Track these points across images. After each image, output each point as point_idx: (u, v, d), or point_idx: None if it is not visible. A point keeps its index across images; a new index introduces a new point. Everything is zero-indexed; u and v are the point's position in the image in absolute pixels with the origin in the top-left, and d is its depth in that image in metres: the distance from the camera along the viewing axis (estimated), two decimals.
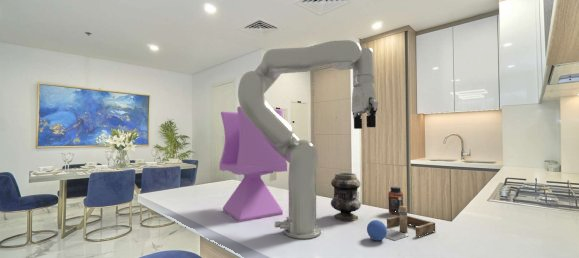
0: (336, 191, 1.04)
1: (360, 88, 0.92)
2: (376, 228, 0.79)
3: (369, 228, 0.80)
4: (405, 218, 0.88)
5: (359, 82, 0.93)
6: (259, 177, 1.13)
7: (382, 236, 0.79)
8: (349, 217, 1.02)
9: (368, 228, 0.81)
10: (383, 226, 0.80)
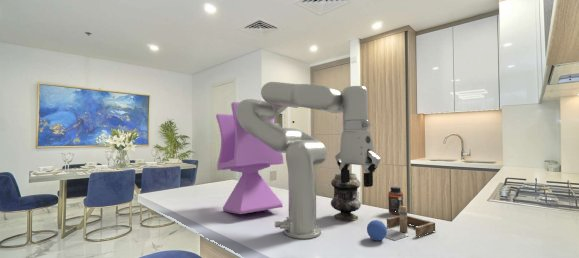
0: (336, 191, 1.04)
1: None
2: (376, 228, 0.79)
3: (369, 228, 0.80)
4: (405, 218, 0.88)
5: None
6: (257, 172, 1.15)
7: (382, 236, 0.79)
8: (349, 217, 1.02)
9: (368, 228, 0.81)
10: (383, 226, 0.80)
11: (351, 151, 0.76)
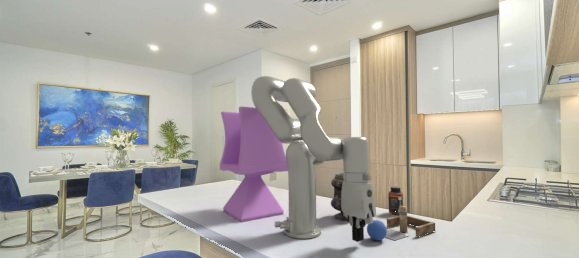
0: (336, 191, 1.04)
1: None
2: (376, 228, 0.79)
3: (369, 228, 0.80)
4: (405, 218, 0.88)
5: None
6: (260, 177, 1.13)
7: (382, 236, 0.79)
8: None
9: (368, 228, 0.81)
10: (383, 226, 0.80)
11: (352, 204, 0.75)
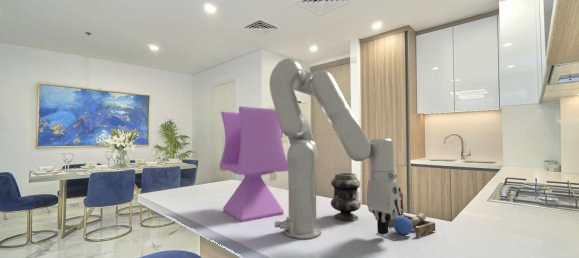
0: (336, 191, 1.04)
1: None
2: None
3: None
4: (417, 222, 0.89)
5: None
6: (260, 177, 1.13)
7: (411, 228, 0.84)
8: (349, 217, 1.02)
9: None
10: (405, 234, 0.84)
11: (378, 200, 0.82)
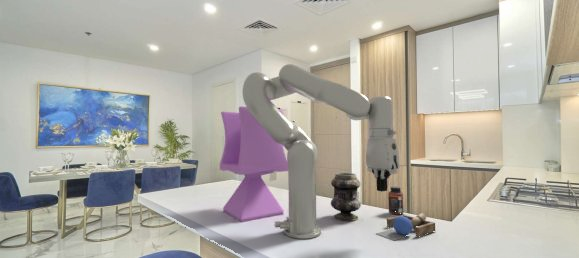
0: (336, 191, 1.04)
1: None
2: None
3: None
4: (418, 222, 0.89)
5: None
6: (260, 177, 1.13)
7: (411, 228, 0.84)
8: (349, 217, 1.02)
9: None
10: (405, 234, 0.84)
11: (377, 157, 0.82)
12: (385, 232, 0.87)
